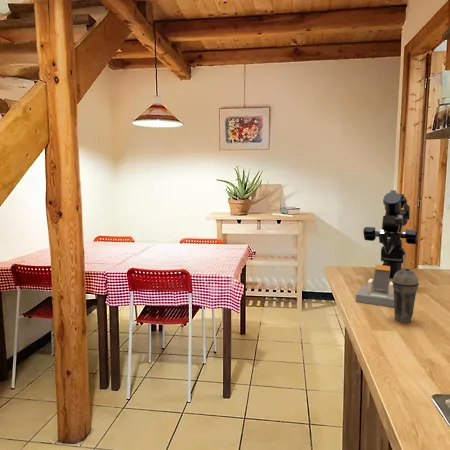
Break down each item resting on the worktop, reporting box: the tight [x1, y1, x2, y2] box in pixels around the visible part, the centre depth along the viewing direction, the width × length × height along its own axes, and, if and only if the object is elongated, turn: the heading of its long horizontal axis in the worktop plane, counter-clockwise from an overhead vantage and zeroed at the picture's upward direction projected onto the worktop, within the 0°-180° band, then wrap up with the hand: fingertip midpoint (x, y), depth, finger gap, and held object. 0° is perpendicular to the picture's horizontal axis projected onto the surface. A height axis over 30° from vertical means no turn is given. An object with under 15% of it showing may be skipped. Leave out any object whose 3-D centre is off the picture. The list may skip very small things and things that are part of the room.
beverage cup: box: [392, 254, 420, 324], centre depth 121 cm, size 7×7×20 cm
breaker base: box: [355, 278, 394, 308], centre depth 140 cm, size 12×14×6 cm
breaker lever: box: [373, 264, 390, 292], centre depth 141 cm, size 2×5×9 cm, turn 62°
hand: (387, 253), depth 150 cm, fingers closed
